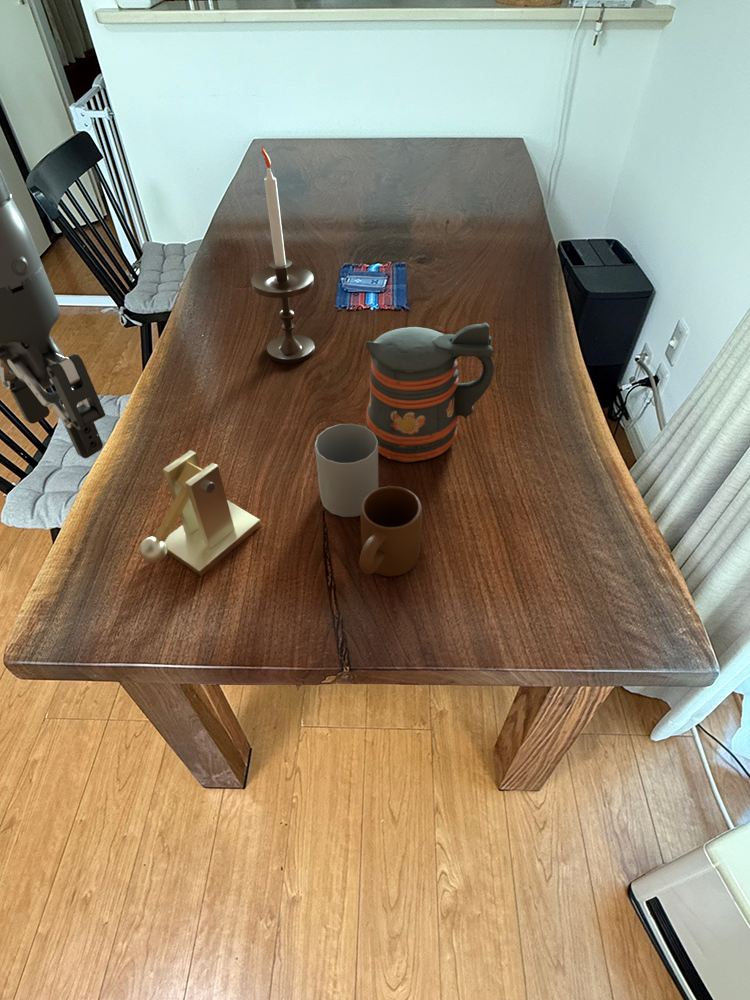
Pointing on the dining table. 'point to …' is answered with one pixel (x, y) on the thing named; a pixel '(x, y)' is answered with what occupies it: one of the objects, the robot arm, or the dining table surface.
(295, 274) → the candlestick
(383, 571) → the mug
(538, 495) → the dining table surface
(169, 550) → the switch bracket
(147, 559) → the switch lever
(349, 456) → the cup
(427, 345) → the beer stein
